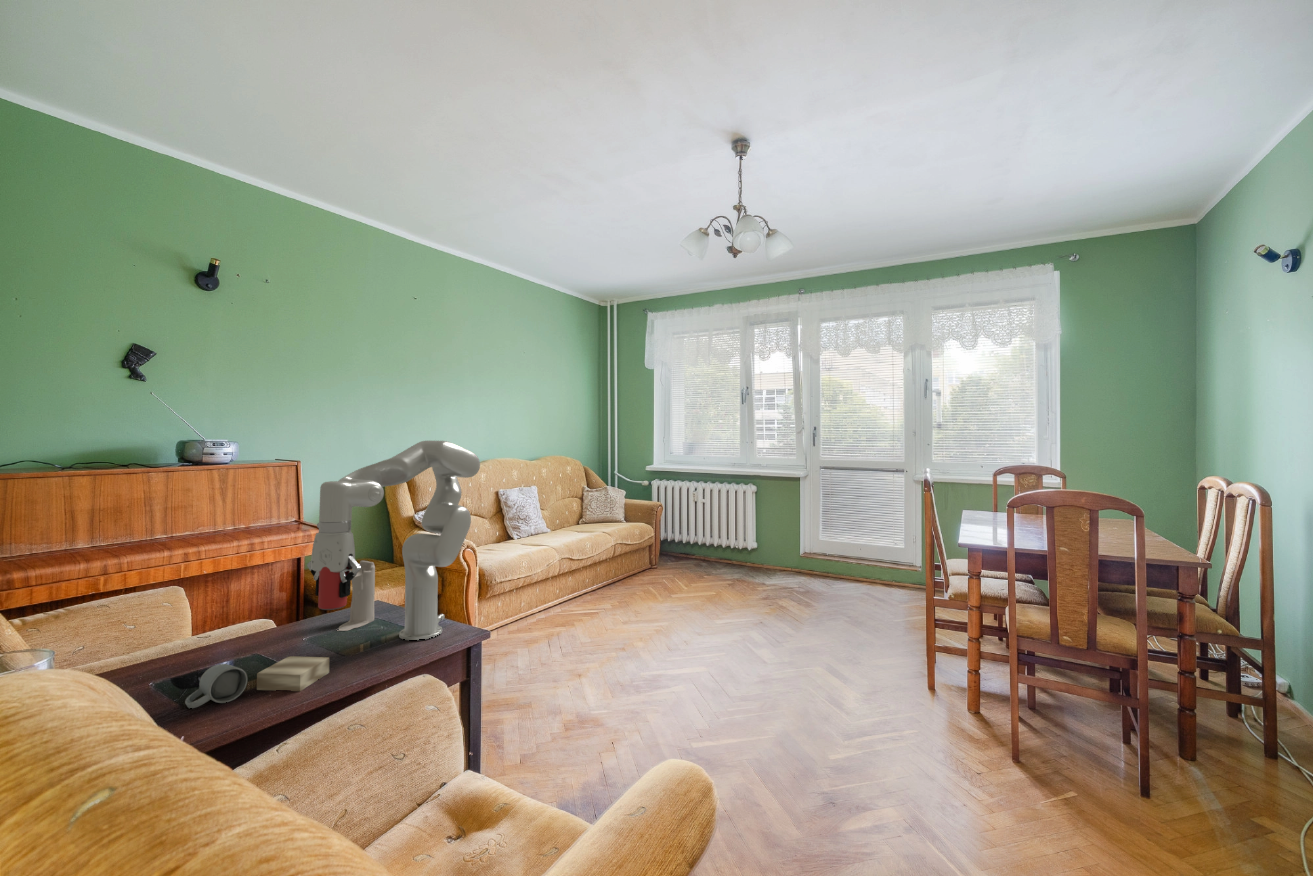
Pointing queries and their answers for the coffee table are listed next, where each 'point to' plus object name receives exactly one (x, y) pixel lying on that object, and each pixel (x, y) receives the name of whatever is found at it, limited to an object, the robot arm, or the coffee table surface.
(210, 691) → the ceramic mug
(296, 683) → the birch block
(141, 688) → the coffee table surface
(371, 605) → the beige boot
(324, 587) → the beer can
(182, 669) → the coffee table surface
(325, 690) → the coffee table surface
